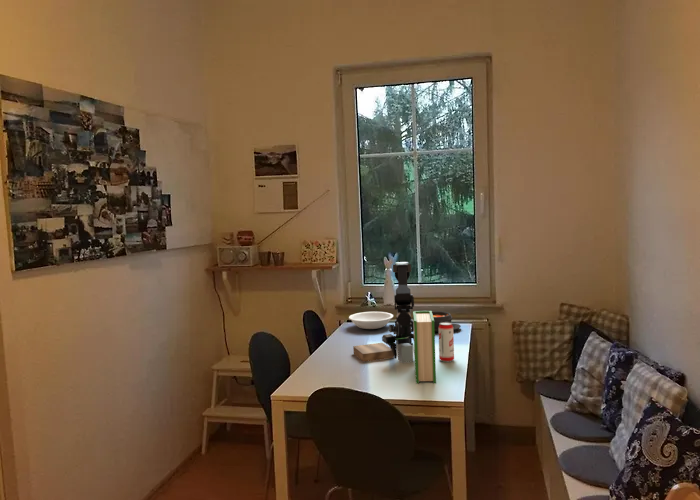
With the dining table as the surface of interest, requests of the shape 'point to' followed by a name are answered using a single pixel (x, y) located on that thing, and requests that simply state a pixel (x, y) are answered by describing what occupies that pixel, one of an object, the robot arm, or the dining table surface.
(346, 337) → the dining table surface
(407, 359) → the grey block
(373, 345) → the brown block
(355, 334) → the dining table surface
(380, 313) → the soup bowl
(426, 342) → the hardback book
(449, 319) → the casserole
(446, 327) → the beer can
